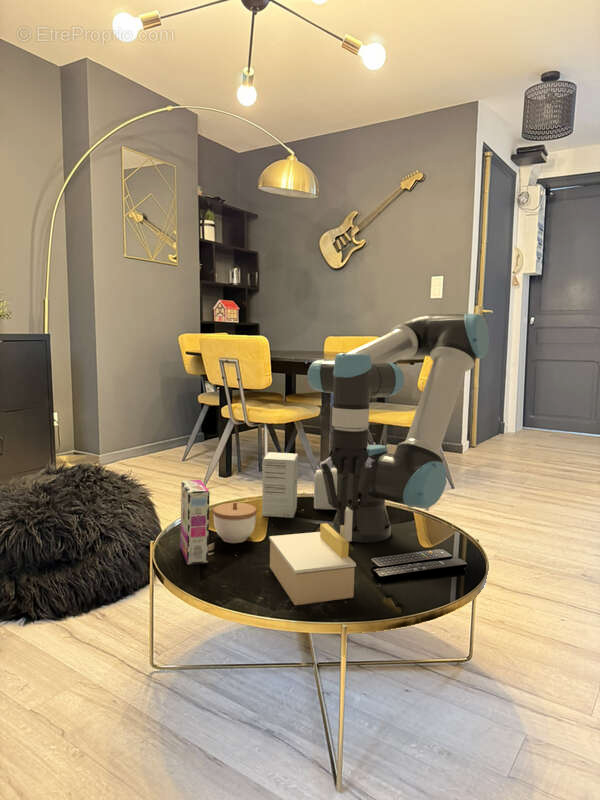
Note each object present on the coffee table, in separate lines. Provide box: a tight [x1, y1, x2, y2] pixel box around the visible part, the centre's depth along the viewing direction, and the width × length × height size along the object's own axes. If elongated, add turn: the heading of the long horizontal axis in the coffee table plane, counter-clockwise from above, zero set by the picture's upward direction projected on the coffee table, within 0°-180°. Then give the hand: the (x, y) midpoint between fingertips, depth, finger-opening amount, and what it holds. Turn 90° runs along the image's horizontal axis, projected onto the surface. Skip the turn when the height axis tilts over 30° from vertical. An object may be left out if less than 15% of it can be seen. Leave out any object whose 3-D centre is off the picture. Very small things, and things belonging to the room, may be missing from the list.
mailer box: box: [269, 540, 355, 606], centre depth 110 cm, size 12×18×6 cm, turn 18°
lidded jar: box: [212, 501, 257, 544], centre depth 133 cm, size 11×11×9 cm
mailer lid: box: [268, 522, 357, 573], centre depth 110 cm, size 12×18×4 cm
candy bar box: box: [180, 479, 210, 566], centre depth 122 cm, size 11×5×16 cm, turn 21°
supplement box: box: [261, 451, 299, 519], centre depth 155 cm, size 10×9×17 cm
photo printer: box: [313, 467, 337, 510], centre depth 160 cm, size 10×4×12 cm, turn 88°
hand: (345, 539), depth 112 cm, fingers closed
